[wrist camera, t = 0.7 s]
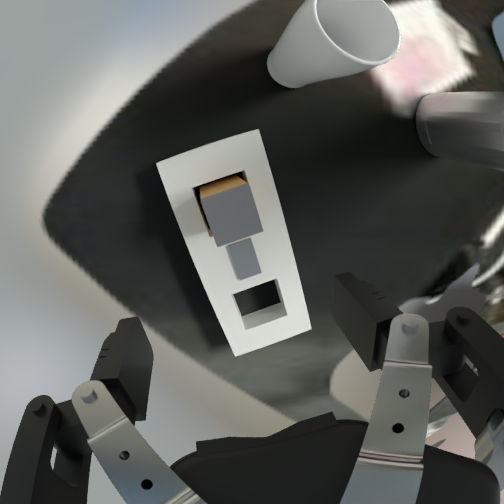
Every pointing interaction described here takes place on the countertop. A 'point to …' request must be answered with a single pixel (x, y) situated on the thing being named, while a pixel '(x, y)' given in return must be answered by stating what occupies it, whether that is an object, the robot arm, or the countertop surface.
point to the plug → (230, 210)
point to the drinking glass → (334, 41)
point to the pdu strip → (238, 242)
